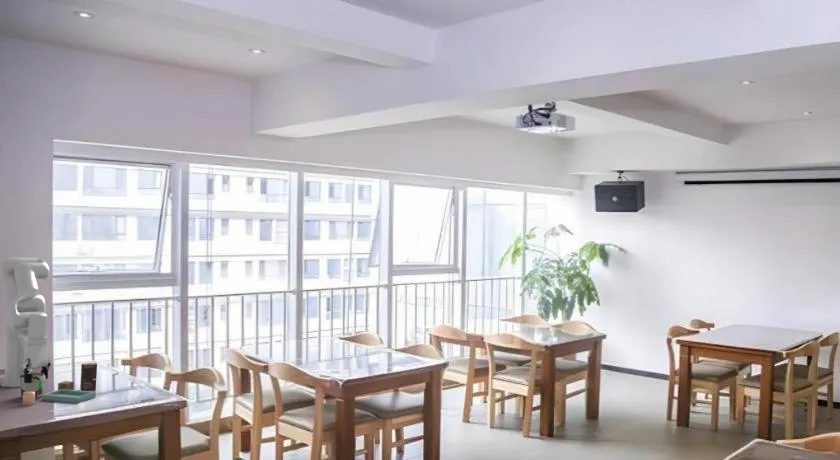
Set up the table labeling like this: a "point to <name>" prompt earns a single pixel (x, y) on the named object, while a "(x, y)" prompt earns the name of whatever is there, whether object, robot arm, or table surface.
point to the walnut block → (66, 385)
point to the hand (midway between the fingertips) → (36, 380)
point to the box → (88, 376)
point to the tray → (68, 396)
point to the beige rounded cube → (28, 398)
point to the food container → (33, 384)
